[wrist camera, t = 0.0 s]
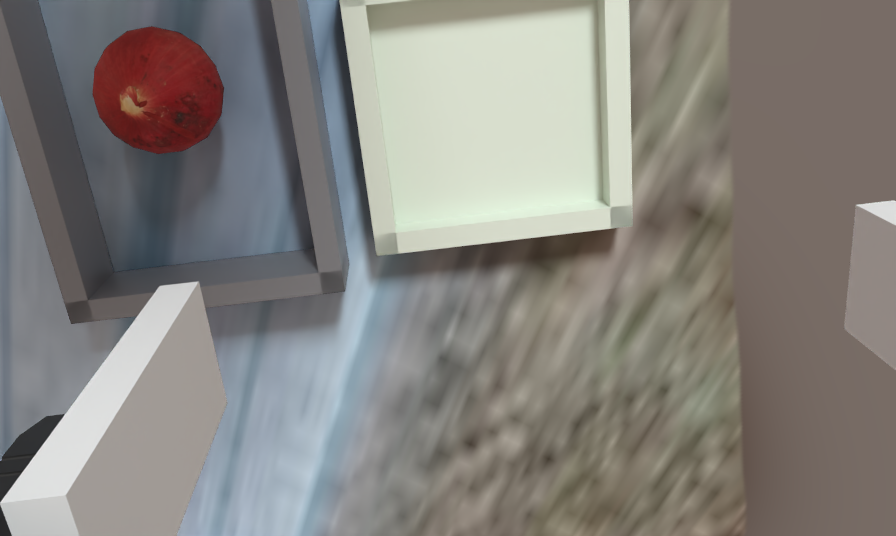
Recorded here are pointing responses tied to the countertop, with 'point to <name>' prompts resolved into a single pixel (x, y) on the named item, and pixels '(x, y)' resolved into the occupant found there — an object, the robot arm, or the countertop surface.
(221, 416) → the robot arm
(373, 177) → the tray
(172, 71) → the onion
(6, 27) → the bin
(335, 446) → the countertop surface
